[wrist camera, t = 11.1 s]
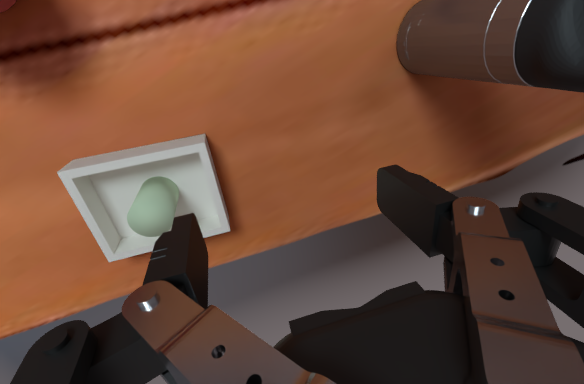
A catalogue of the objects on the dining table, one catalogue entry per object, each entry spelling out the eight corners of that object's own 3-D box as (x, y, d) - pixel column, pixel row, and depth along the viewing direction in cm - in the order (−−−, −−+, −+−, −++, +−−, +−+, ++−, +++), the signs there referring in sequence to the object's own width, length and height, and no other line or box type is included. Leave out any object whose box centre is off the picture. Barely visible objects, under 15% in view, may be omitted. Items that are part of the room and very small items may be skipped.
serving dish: (205, 133, 37) (204, 142, 34) (228, 216, 43) (230, 231, 40) (72, 159, 35) (57, 172, 31) (117, 243, 41) (108, 262, 37)
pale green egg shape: (172, 172, 38) (164, 196, 32) (183, 203, 40) (179, 230, 34) (134, 181, 37) (119, 206, 31) (148, 212, 39) (137, 241, 33)
